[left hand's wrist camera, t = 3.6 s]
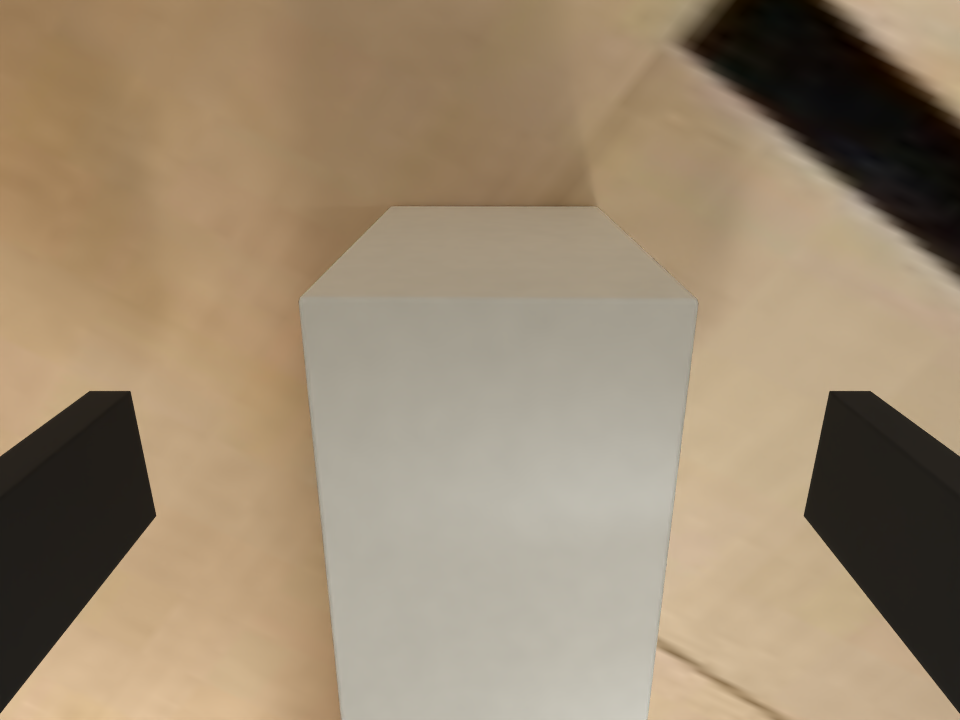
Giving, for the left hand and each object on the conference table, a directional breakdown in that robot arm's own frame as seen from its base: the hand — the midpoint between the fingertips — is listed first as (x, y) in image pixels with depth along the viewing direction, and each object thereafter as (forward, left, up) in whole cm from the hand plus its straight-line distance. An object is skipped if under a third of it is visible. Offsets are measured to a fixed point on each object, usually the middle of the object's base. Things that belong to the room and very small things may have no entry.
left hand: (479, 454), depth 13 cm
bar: (+9, +30, -5) cm, 32 cm away
